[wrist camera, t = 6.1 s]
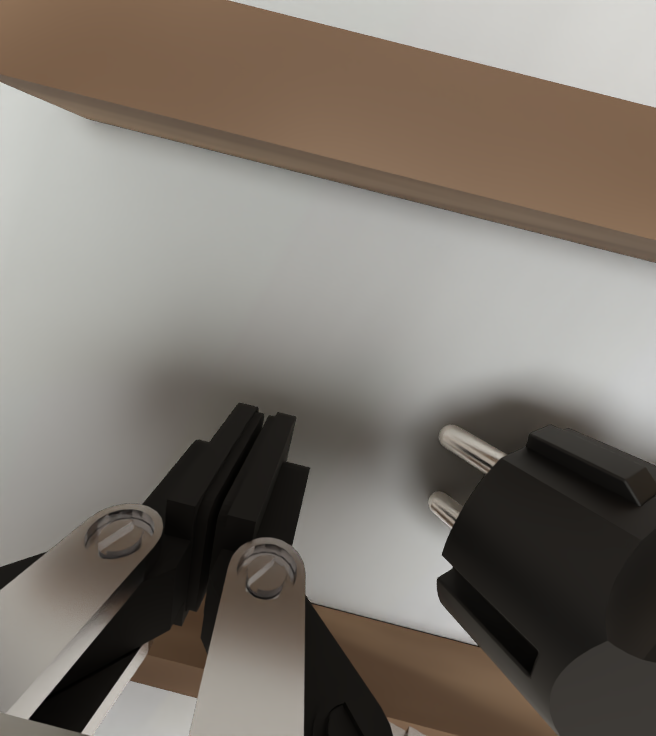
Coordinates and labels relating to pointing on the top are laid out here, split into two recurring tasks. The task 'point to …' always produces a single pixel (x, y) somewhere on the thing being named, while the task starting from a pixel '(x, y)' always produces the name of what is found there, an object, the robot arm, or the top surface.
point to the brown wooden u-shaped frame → (364, 170)
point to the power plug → (559, 576)
